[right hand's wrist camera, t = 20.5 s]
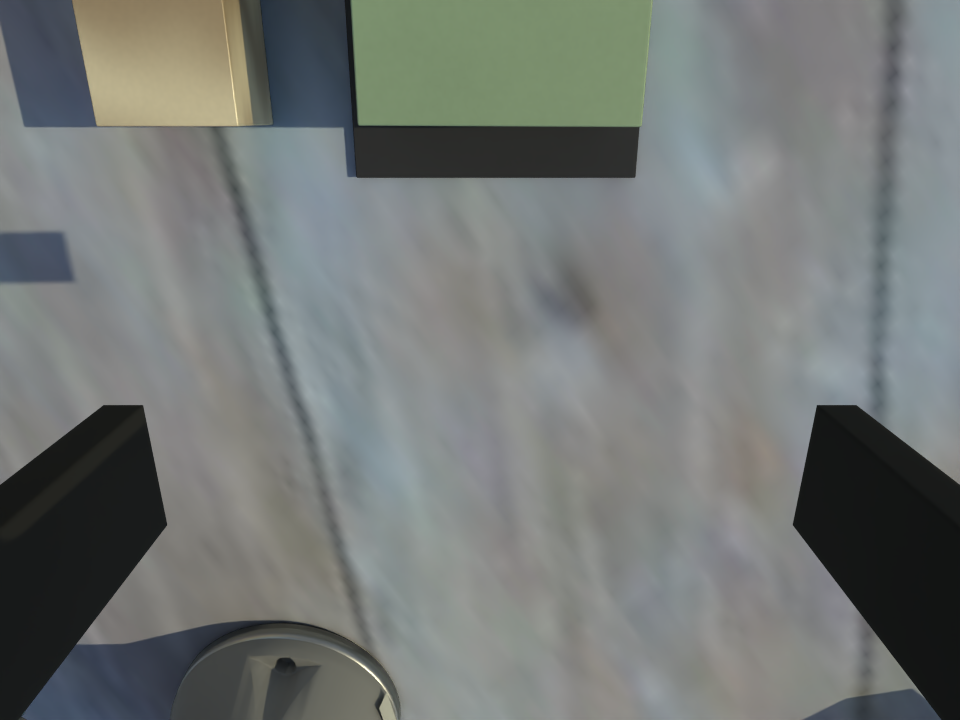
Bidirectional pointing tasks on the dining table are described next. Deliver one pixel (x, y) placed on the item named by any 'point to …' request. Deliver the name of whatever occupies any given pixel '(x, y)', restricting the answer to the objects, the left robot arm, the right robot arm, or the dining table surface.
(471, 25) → the sage block
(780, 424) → the dining table surface
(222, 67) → the birch plank
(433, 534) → the dining table surface
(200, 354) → the dining table surface
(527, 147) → the rubber mat
